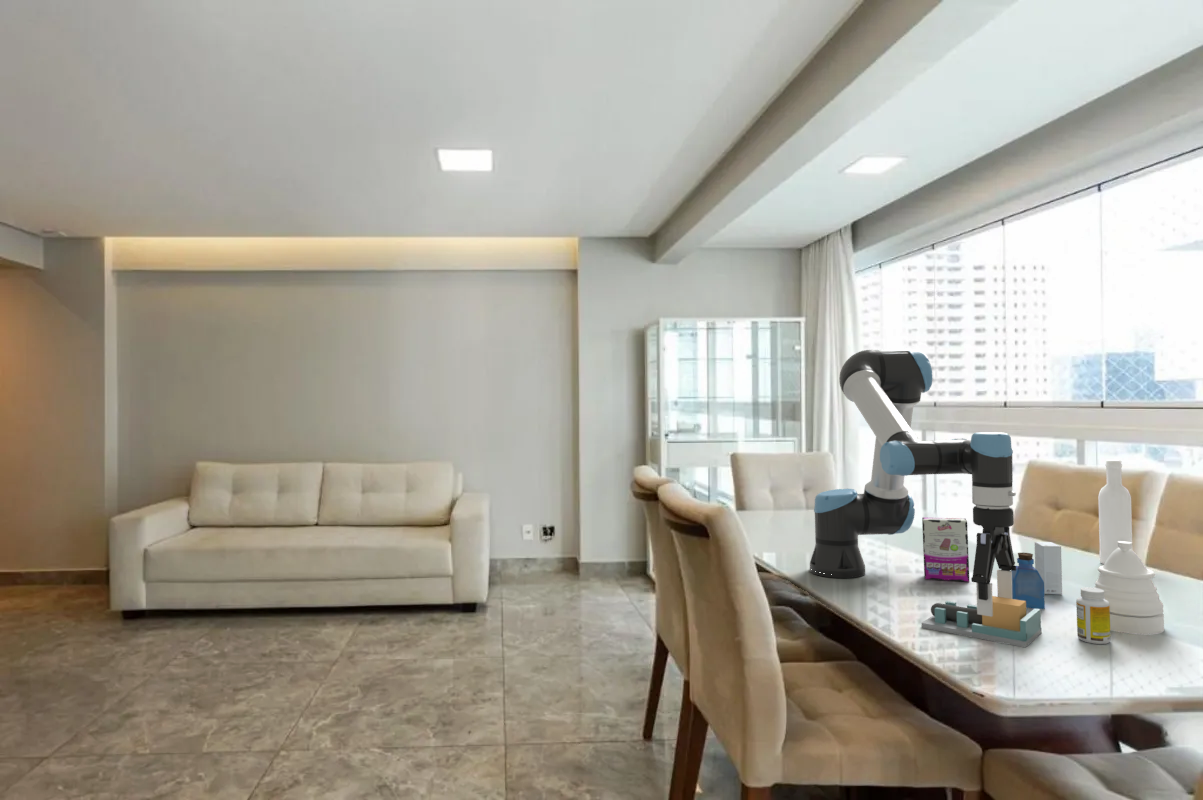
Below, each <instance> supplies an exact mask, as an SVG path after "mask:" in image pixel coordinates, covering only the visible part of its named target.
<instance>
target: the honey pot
mask: <svg viewBox="0 0 1203 800" xmlns="http://www.w3.org/2000/svg"><path fill="white" fill-rule="evenodd" d="M1117 543H1118V546H1119V548H1117V549H1116V550H1114V551H1113V552H1112V553H1111V555H1110V556H1109V557H1108V559H1107V560H1106V562H1105V564H1102V565H1100V566H1098V568H1097V570H1098V572H1099V575H1098V577H1097V579H1096V580H1095V582H1094V587H1093V588H1098V589H1102V590H1104V596H1105V598H1104V599H1105V600H1107V601H1108V602H1109V605H1110V631H1113V632H1117V633H1124V634H1132V635H1157V634H1162V633H1163V632H1165V619H1164V618H1165V617H1164V616H1165V615H1164V614H1165V613H1164V604H1163V603H1164V602H1162V601H1161V599H1160V594H1159V593H1158V591H1157V590H1158V589H1157V586H1155V583H1154V582H1153V578H1155V576H1156V572H1155V571H1154V570H1153V569H1149V568H1147V567H1146V566H1145V563H1144V562H1143V561H1142V559H1141V557H1140V556H1139V555H1138V554H1137V553H1136V552H1135V551H1134V550H1131V547H1132V548H1133V541H1132V542H1126V541H1118V542H1117Z"/></svg>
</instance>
